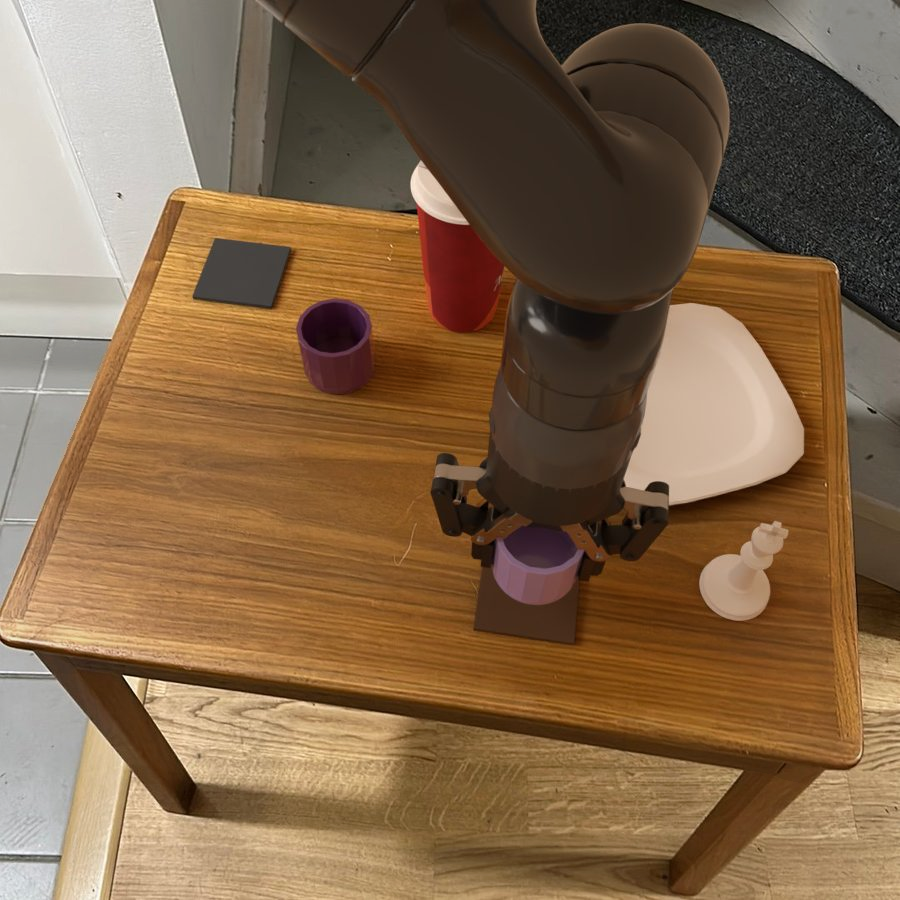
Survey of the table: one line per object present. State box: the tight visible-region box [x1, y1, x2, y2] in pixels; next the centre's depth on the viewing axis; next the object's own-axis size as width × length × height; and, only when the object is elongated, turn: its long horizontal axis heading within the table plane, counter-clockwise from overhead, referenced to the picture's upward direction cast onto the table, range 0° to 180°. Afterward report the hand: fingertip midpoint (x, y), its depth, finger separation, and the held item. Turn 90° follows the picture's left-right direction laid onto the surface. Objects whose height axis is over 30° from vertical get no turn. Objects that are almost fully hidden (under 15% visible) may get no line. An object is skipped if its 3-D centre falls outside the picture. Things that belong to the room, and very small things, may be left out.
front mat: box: [472, 563, 581, 646], centre depth 66 cm, size 7×7×1 cm
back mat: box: [191, 237, 292, 310], centre depth 81 cm, size 7×7×1 cm
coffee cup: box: [410, 160, 505, 333], centre depth 73 cm, size 8×8×15 cm
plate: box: [624, 302, 805, 507], centre depth 73 cm, size 18×18×2 cm
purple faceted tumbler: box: [295, 297, 376, 395], centre depth 74 cm, size 6×6×5 cm
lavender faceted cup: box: [492, 526, 585, 605], centre depth 60 cm, size 6×6×5 cm
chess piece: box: [698, 520, 789, 622], centre depth 62 cm, size 5×5×10 cm
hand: (535, 561), depth 61 cm, fingers closed on lavender faceted cup, 6 cm apart
